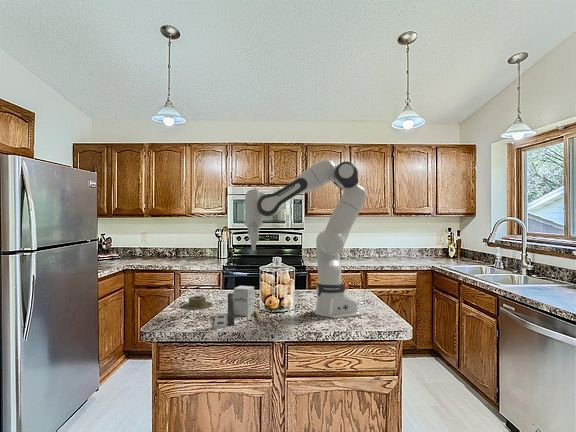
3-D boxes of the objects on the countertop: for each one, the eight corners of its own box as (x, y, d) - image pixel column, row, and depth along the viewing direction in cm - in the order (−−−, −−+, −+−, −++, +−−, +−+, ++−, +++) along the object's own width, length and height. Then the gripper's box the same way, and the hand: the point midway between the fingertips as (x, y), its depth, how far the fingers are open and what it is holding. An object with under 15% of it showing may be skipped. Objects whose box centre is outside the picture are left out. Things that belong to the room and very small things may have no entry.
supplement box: (233, 315, 165) (233, 288, 165) (240, 311, 172) (240, 285, 172) (247, 316, 163) (247, 289, 163) (254, 312, 170) (254, 286, 170)
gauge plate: (226, 316, 163) (226, 314, 163) (226, 327, 147) (226, 324, 147) (215, 317, 162) (215, 314, 162) (213, 328, 146) (213, 325, 146)
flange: (181, 295, 187) (183, 302, 173) (210, 293, 192) (214, 299, 178) (181, 304, 187) (183, 311, 173) (210, 302, 192) (214, 309, 178)
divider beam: (257, 311, 173) (257, 284, 173) (261, 324, 152) (261, 293, 152) (227, 312, 170) (227, 285, 170) (227, 325, 149) (227, 294, 149)
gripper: (261, 222, 168) (261, 251, 168) (258, 221, 188) (258, 248, 188) (248, 222, 167) (248, 252, 167) (246, 221, 187) (246, 248, 187)
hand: (253, 250), depth 177 cm, fingers open, 3 cm apart
